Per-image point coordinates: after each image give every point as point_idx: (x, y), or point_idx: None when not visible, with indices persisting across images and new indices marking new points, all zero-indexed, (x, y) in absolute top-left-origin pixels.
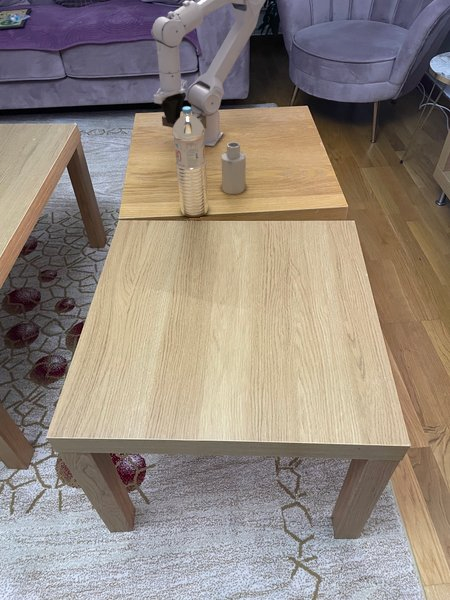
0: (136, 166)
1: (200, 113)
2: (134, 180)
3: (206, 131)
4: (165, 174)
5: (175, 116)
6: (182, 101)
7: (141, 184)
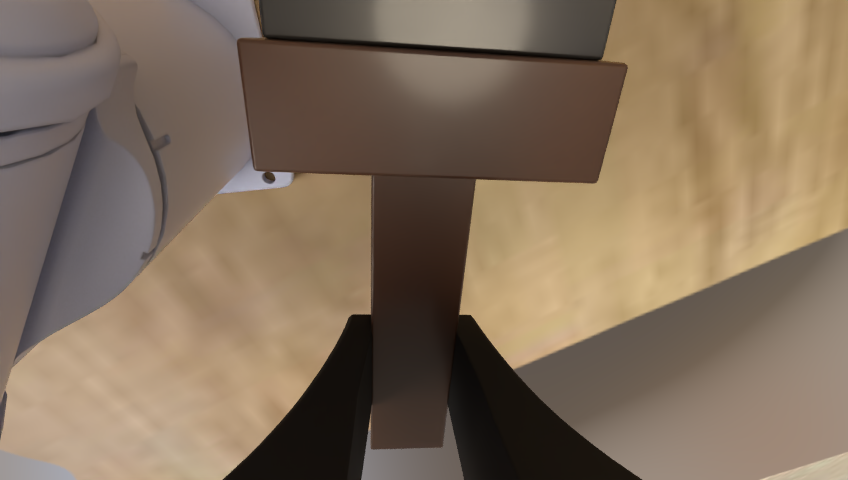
0: (639, 300)
1: (247, 72)
2: (778, 240)
3: (197, 46)
4: (717, 124)
5: (382, 363)
6: (291, 468)
7: (822, 190)
